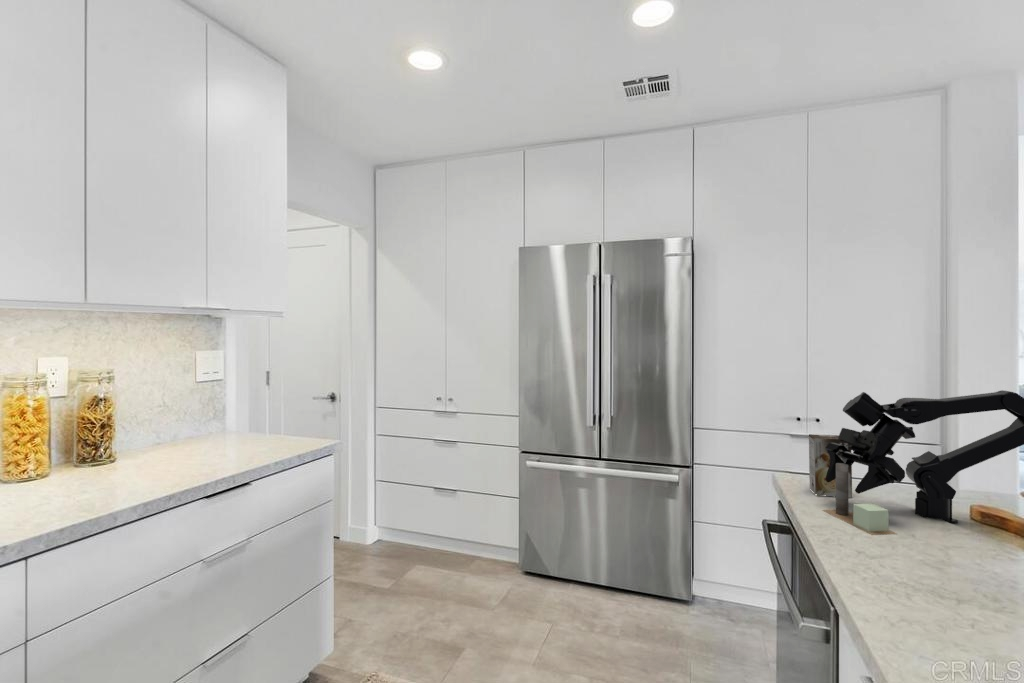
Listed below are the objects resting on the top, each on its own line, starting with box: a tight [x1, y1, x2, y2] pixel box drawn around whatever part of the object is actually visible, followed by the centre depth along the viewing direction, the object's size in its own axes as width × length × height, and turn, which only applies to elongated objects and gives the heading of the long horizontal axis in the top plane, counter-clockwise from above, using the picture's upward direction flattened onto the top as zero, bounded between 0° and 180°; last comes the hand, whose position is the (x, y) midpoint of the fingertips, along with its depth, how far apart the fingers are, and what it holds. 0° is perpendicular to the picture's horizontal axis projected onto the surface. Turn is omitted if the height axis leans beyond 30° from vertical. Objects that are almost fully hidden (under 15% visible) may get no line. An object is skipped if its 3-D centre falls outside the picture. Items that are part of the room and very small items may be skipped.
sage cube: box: [852, 503, 890, 532], centre depth 116 cm, size 5×5×5 cm
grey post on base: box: [822, 463, 898, 536], centre depth 120 cm, size 6×16×13 cm, turn 4°
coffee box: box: [808, 433, 853, 499], centre depth 144 cm, size 9×6×16 cm
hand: (840, 486), depth 126 cm, fingers open, 9 cm apart
